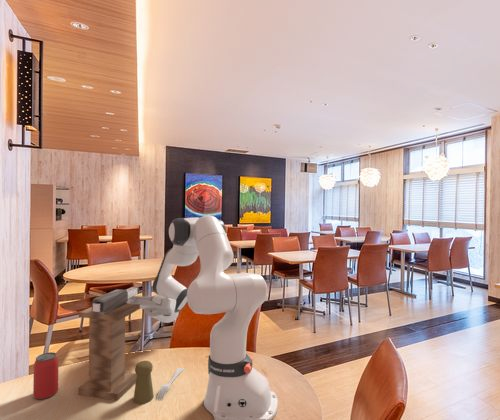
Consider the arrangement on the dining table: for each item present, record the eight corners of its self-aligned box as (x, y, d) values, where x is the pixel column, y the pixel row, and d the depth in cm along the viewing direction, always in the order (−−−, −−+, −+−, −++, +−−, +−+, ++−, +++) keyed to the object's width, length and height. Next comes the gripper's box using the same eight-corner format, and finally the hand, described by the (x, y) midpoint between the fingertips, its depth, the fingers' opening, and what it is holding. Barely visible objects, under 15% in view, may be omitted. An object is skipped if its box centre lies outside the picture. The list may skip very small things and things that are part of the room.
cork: (147, 405, 94) (147, 368, 94) (129, 402, 95) (129, 366, 95) (157, 393, 100) (157, 359, 100) (140, 391, 101) (140, 357, 101)
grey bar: (139, 293, 118) (139, 286, 118) (99, 311, 96) (99, 304, 96) (133, 292, 118) (133, 286, 118) (92, 311, 97) (92, 303, 96)
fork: (185, 375, 116) (185, 367, 116) (162, 403, 95) (163, 393, 96) (177, 374, 116) (178, 366, 117) (153, 402, 96) (154, 392, 96)
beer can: (28, 397, 97) (28, 358, 97) (48, 386, 103) (49, 350, 103) (42, 402, 95) (43, 362, 95) (63, 390, 101) (63, 353, 101)
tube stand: (139, 379, 108) (140, 291, 108) (117, 400, 96) (118, 300, 96) (103, 374, 110) (104, 288, 110) (78, 394, 99) (79, 297, 99)
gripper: (136, 297, 136) (119, 288, 124) (179, 300, 132) (166, 291, 120) (131, 312, 133) (114, 304, 121) (176, 316, 129) (162, 307, 117)
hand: (140, 297), depth 121 cm, fingers open, 8 cm apart
